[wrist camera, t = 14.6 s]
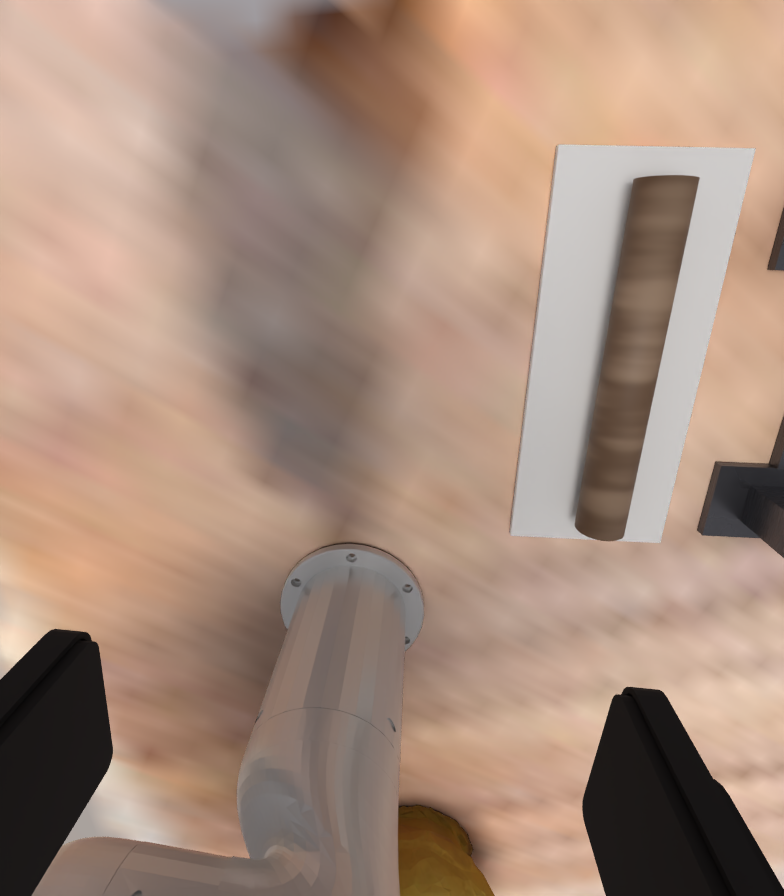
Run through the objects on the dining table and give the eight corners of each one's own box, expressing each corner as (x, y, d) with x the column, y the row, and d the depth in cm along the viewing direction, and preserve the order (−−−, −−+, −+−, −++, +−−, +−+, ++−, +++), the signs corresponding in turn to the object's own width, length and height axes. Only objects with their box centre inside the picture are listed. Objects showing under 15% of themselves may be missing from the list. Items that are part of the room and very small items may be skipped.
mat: (657, 539, 43) (660, 542, 42) (509, 532, 43) (510, 535, 43) (749, 150, 33) (755, 148, 32) (556, 146, 33) (558, 144, 33)
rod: (609, 516, 42) (633, 540, 39) (566, 518, 42) (587, 541, 38) (675, 183, 33) (713, 176, 30) (622, 181, 33) (654, 173, 30)
